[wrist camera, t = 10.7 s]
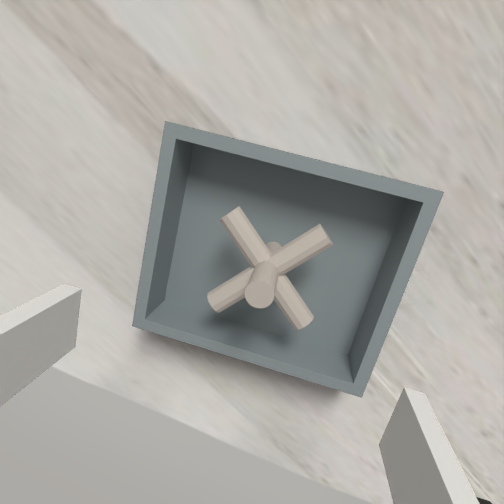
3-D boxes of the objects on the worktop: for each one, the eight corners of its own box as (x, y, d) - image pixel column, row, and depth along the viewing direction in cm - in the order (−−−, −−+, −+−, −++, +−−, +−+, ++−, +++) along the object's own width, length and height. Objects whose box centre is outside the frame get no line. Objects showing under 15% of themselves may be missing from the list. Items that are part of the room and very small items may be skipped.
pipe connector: (353, 269, 30) (376, 321, 21) (258, 322, 33) (239, 391, 23) (289, 170, 29) (283, 177, 19) (195, 234, 31) (148, 269, 22)
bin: (156, 303, 35) (132, 326, 30) (188, 127, 30) (165, 121, 25) (354, 363, 33) (361, 397, 28) (421, 186, 28) (444, 191, 23)
